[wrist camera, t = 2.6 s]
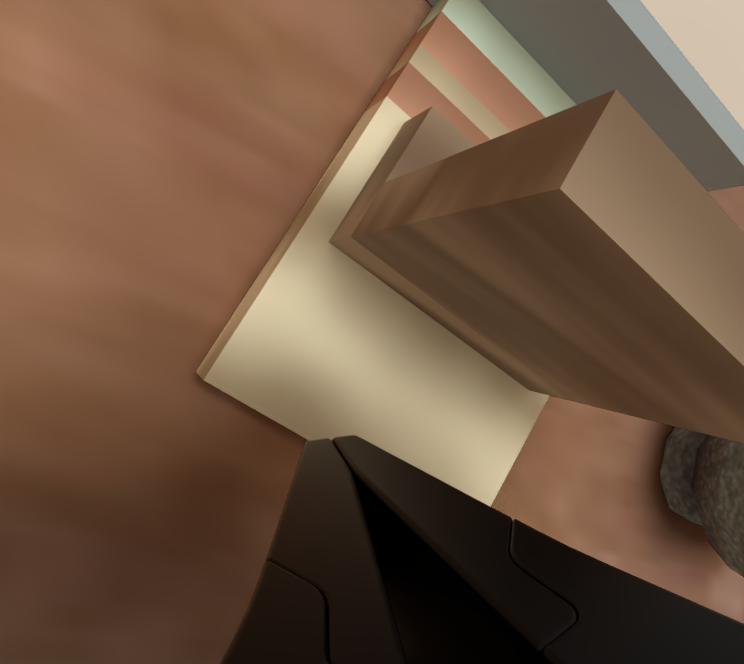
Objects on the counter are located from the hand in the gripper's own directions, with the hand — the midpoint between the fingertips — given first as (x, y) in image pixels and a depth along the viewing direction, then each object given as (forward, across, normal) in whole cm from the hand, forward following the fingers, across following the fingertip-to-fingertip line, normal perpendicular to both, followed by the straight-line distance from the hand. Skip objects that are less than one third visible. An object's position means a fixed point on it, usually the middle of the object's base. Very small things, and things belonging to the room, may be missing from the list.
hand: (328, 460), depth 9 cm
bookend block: (+11, +8, -1) cm, 13 cm away
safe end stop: (+16, +12, +4) cm, 21 cm away
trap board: (+13, +7, -2) cm, 15 cm away
